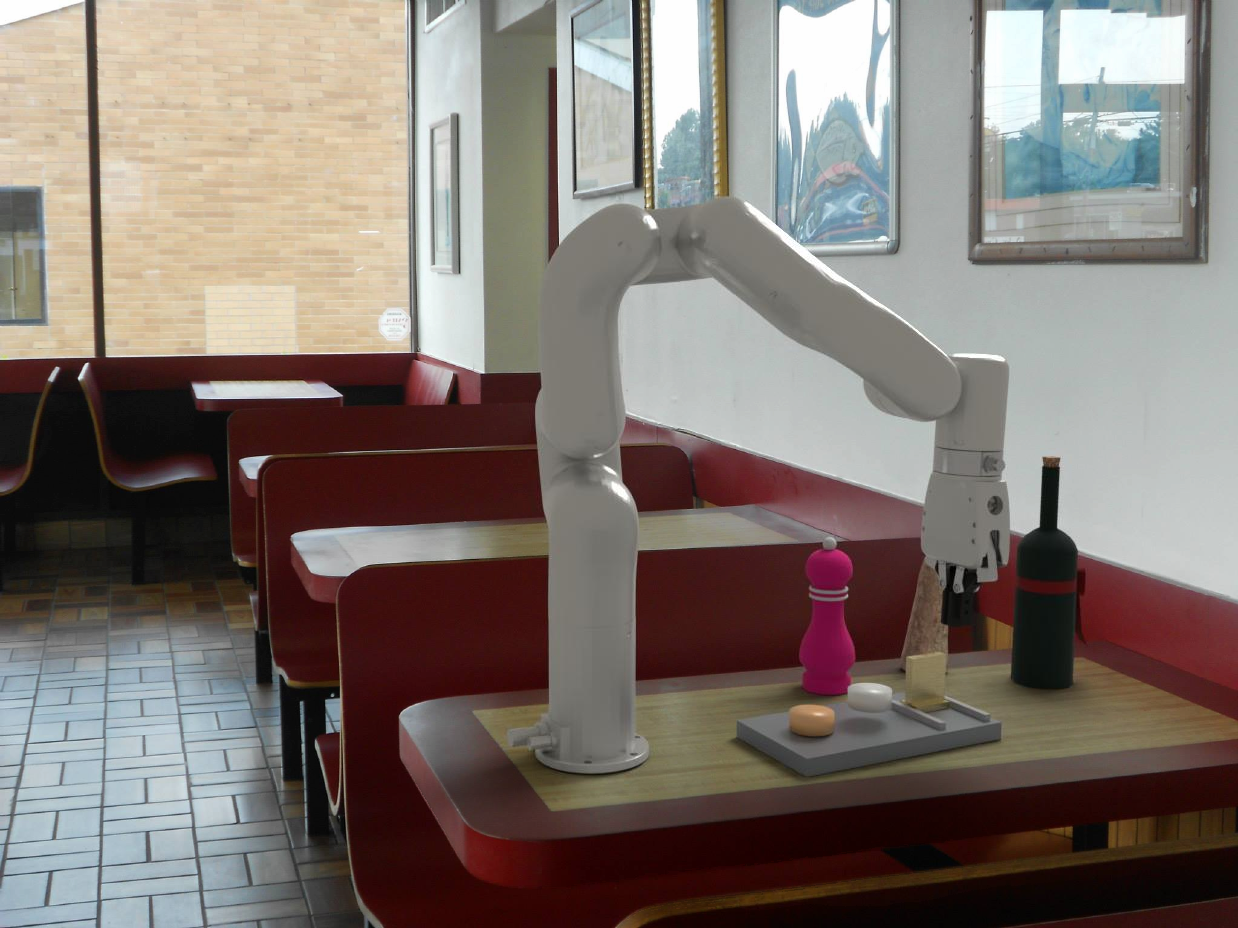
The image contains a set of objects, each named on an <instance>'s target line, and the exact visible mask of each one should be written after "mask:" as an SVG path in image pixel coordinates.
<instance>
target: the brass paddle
mask: <svg viewBox="0 0 1238 928" xmlns="http://www.w3.org/2000/svg"><path fill="white" fill-rule="evenodd" d="M946 672H947V671H946V654H944V653H941V652H935V653H928V654H922V655H915V656H908V657H906V671H905V685H904V687H905V689H904V690H905V691H904V692H905V700H900V703H903V704H905V705H907V706H910V707H912V708H914V709H917V710H919V711H921V712H924V713H925V712H930V711H936V710H942V709H947V708H950V701H947V700H945V696H946V677H947V676H946Z"/></svg>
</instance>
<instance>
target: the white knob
mask: <svg viewBox="0 0 1238 928" xmlns="http://www.w3.org/2000/svg"><path fill="white" fill-rule="evenodd" d="M892 694H893V689H892V688H891V687H890V686H888V685H886V684H885V685H884V684H881V683H875V682H858V683H853V684H852V683H851V685H850V686H848V692H847V701H846V702H847V705H848V707H849V708H851V709H853V710H856V711H859V712H866V713H882V712H886V711H889V710H891V708H892Z"/></svg>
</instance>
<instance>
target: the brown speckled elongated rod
mask: <svg viewBox="0 0 1238 928" xmlns="http://www.w3.org/2000/svg"><path fill="white" fill-rule="evenodd" d="M925 557H926V555H925V556H924V558H923V561H922V564H921V566H920V570H919V573H918V577H917V585H916V592H915V596H914V600H913V603H912V608H911V612H910V618H909V621H908V624H907V625H908V626H907V631H906V635H905V637H904V638H905V640H904V644H903V648H902V652H901V655H900V668H901V669H902V670H904V671H905V672H906V657H908V656H915V655H922V654H928V653H935V652H941V653H944V654H946V672H948V670H949V662H950V660H949V647H948V646H949V642H948V640H949V639H948V635H949V626H948V625H944V624H942V623H941V611H942V597H943V590H944V589H942V588H941V587H940V585H939V576H938V574H937V572H936V570H934V569H933V568H931V567H930V566H929V565H927V564H926V563H925Z"/></svg>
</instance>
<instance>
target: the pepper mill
mask: <svg viewBox="0 0 1238 928" xmlns="http://www.w3.org/2000/svg"><path fill="white" fill-rule="evenodd" d="M822 546H823V547H822V548H821V549H817V550H816V551H814V552H812V553H811V554H810V556H809V557H808V559H807V561H806V564H805V574H806V577H807V579H808V580H809V581H810V583H811V584H810V585H809V587H808V590H809V593H808V596H809V598H810V599H811V600H812V601H811V602H812V613H811V614H812V616H811V620H810V623H809V626H808V628H807V630H806V632H805V634H804V635H803V638H802V640H801V643H800V647H799V653H798V654H799V655H798V658H799V661H800V663H801V664H802V666H803V667H804V669H805V671H804V672H803V673H802V674H801V675H802V681H801V683H802V684H801V686H802V689H803V690H804V691H806V692H809V693H811V694H814V695H821V696H822V695H823V696H838V695H843V694H848V686H850V685H852V677H851V675H850V674H849V673H848V671H850V669H851V668H852V667H853V666H854V664H855V662H856V650H855V646H854V642H853V639H852V637H851V636H850V633H849V631H848V629H847V625H846V622H845V617H844V613H845V612H844V607H845V602H846V600H847V599H848V598H849V594H848V592H849V587H848V586H847V583H848V582H849V581H850V580H851V578H852V576H853V564H852V560H851V558H850V557H849V556H848V555H847V554H846V553H845V552H843V551H841V550H839V549H836V547H837V541H836V539H835V538H833V537H831V536H828V537H825V538H824V539H823V541H822Z"/></svg>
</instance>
